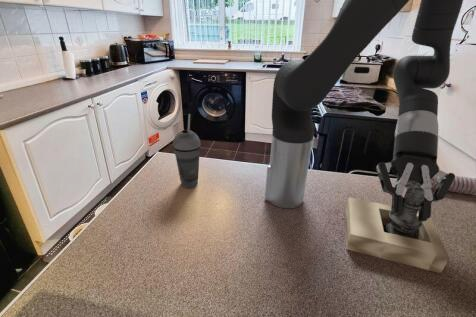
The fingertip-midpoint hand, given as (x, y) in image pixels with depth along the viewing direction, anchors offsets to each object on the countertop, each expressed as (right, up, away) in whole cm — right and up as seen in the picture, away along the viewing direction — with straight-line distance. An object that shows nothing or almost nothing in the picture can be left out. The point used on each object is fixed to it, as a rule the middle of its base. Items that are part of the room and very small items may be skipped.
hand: (410, 217), depth 50 cm
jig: (-2, -5, +5) cm, 7 cm away
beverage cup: (-47, +4, +22) cm, 52 cm away
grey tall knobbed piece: (+1, -4, +4) cm, 6 cm away
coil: (+23, +3, +23) cm, 33 cm away
